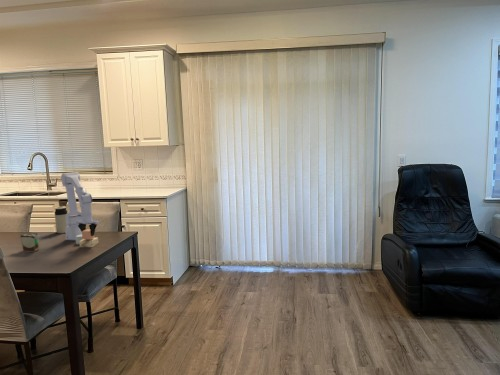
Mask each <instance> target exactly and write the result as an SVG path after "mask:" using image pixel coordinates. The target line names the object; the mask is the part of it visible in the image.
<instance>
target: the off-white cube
mask: <svg viewBox="0 0 500 375" xmlns="http://www.w3.org/2000/svg"><path fill="white" fill-rule="evenodd" d="M81 240H83V239H82V235H77V236H76V240H75V244H76V245H80V243H79V241H81Z"/></svg>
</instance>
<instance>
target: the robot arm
mask: <svg viewBox="0 0 500 375" xmlns="http://www.w3.org/2000/svg"><path fill="white" fill-rule="evenodd" d="M80 180H81V176H80V173H79V172H78V171H76V172H66V173H63V172H62V174H61V185H62V187H65V192H66V197H67V204H68V210H69V211H67V214H66V224H67V227H66V229H65V233H64V234H65V241H76V236H77V235H82V231H84V230H86V229H87V225H88V227H89V229H90V231H91V236H93V235H95V232H96V228H97V226H98V225H99V224H100V221H99V220H94V219H93V215H92V213H93V212H92V203H93V197H92V194H91V193H89V192H87V189H86V188H85V187H84V186H82V184H81V182H80ZM76 196H77V197H78V203H79V207H80V210H78V206H77V204H78V203H77V199H76Z"/></svg>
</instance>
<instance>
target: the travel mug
mask: <svg viewBox="0 0 500 375" xmlns="http://www.w3.org/2000/svg"><path fill="white" fill-rule="evenodd" d="M54 210H55V211H54V220H55V221H54V222H55V228H56V229H55V230H56V233H57V234H66V233H65V229H66V227H67V224H66V214H67V213H68V210H67V206H65V205H64V206H61V205H60V206H56V207H54Z"/></svg>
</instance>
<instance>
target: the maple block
mask: <svg viewBox="0 0 500 375" xmlns="http://www.w3.org/2000/svg"><path fill="white" fill-rule="evenodd" d="M79 243H80V244H79V248H93V247H95V246H97V245H98V244H99V237H94V238H92V239H83V240H81V241H79Z"/></svg>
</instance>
